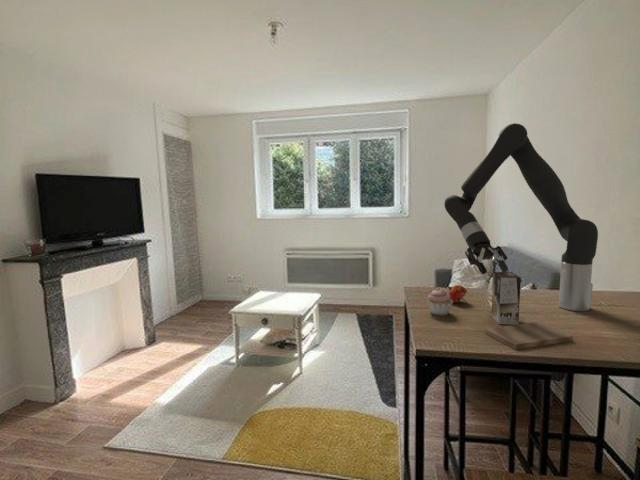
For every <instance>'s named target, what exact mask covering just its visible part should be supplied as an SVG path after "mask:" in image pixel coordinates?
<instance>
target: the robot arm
mask: <svg viewBox="0 0 640 480" xmlns="http://www.w3.org/2000/svg"><path fill="white" fill-rule="evenodd" d="M509 157H511V158H512V159H513V160H514V162H515V163H516V164H517V166H518V168H519V170H520V172H521V175H522V177H523V178H524V180H525V182H526V184H527V186H528V187H529V189H530V190H531V192H532V193H533V195H534V196H535V197H536V199H537V200H538V201H539V203H540V204H541V205H542V207H543V208H544V210H545V211H546V212H547V213H548V215H549V216H550V217H551V220H552V221H553V223H554V225H555V226H556V228H557V231H558V233H559V235H560V237H561V238H562V239H563V240H565V242H566V250H565V252H564V253H562V255H561V263H560V264H561V265H560V276H559V277H560V279H559V294H558V295H559V296H558V307H560V308H562V309H564V310H568V311H574V312H587V311H589V310H590V309H592V301H593V300H592V299H593V298H592V297H593V285H594V284H593V282H592V276H593V275H592V273H593V262H594V261H593V260H594V258H595V257H596V255H597V248H598V247H597V246H598V241H599V239H598V238H599V231H598V227H597V225H596V224H595V223H594V222H593V221H591V220H588V219H585V218H580V216H579V215H578V214H577V213H576V211H575V210H574V209H573V207H572V206H571V204H570V203H569V200H568V197H567V192H566V189H565V186H564V184H563V181H561V179H560V177H559V176H558V175H557V172H555V170H554V169H553V167H552V166H550V164H548V162H547V160H545V159H544V158H543V157H542V156H541V155H540V154H539V153H538V152H537V150H536V149H535V148H534V146H533V144H532V142H531V140H530V138H529V137H528V130H527V128H526V127H525V126H524V125H522V124H520V123H509V124H507V125H505V126H504V127H503V128H502V129H501V130H500V132H499V134H498V137H497V139H496V141H495V142H494V144H493V146H492V147H491V149H490V150H489V152H488V154H487V155H486V156H485V157H484V159H483V160H482V161H480V163H479V164H478V165H477V166H476V167H475V168H474V170H472V172H471V173H470V174H469V175H468V177H467V178H466V180H465V181H464V182H463V183H462V185H461V186H460V187H461V190H462V192H463V193H462V195H461V196H459V195H457V194H456V195H455V194H451V195H449V196H447V197H446V199H444V208H445V211H446V213H448V215H449V216H450V217H451V218H452V220H453V221H454V222H455V223H456V224H457V226H458V229H459V230H460V232H461V234H462V237H463V239H464V241H465V243H466V245H467V246H468V248H467V249H466V250H465V251H464V253H465V256H466V258H467V261H468V263H469V264H470V265H471V266H473V265H474V266H475V267H477V269H478V271H479V272H480V273H481V274H482V275H485V274H487V272H488V270H487V268H486V266H485V265H484V264H485V263H483V262H482V261H485V260H490V261H491V262H495V263H497V264H498V267H499V268H500V270H501V272H508V270H509V267H508V266H507V264H506V260H508V256H507V254H506V253H505V252H504V251H503V249H502V247H501V246H500V245H497V246H496V247H493V246H492V245H491V240H490V239H489V237H488V234H487V233H486V231H485V230H484V228H483V227H482V226H481V224H480V223H479V221H478V220H477V218H476V216H475V215H474V214H473V213H472V212H470V210H471V209H472V208H473V205H474V203H475V201H476V198H477V197H478V194H479V193H480V192H481V191H482V190H483V189H484V187H485V186H486V185H487V184H488V183H489V181H490V180H491V179H492V177H493V176H494V175H495V173H496V172H497V171H498V170H499V168H500V167H501V166H502V165H503V164H504V162H505V161H506V160H508V158H509ZM493 256H494V257H493Z"/></svg>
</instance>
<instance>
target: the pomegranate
mask: <svg viewBox="0 0 640 480" xmlns="http://www.w3.org/2000/svg"><path fill="white" fill-rule="evenodd" d="M446 288H448V292H447V293H448V294H449V296H450V300H452V301H453V303H452V304H458V303H460V301H461V300H462V301H464V302H466V303H467V300H465V299H464V297H465V296H466V294H467V293H468V291H467V289H466V288H465V287H464V286H463V285H459V284H456V285H453V286H451V287H450V286H446Z"/></svg>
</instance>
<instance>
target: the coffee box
mask: <svg viewBox="0 0 640 480" xmlns="http://www.w3.org/2000/svg"><path fill="white" fill-rule="evenodd" d="M521 282H522V277H521V276H519V275H517V274H515V273H513V272H512V271H506V272H502V271H493V272H492V289H491V291H492V292H491V293H492V296H491V317H492V318H494V320H495V321H496V322H497V324H499V325H508V326H512V325H519V323H520V303H521V302H520V301H521V284H522V283H521Z"/></svg>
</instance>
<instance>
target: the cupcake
mask: <svg viewBox="0 0 640 480" xmlns="http://www.w3.org/2000/svg"><path fill="white" fill-rule="evenodd" d="M426 302H427V304H428V306H429V312H430V313H431V314H432V315H434V316H440V317H441V316H442V317H444V316H447V315H449V313H450V310H451V307H452V305H453V304H454V303H453V301H452V300H450V296H449V294H448V292H447V291H446V289H445V288H443V287H441V286H438V287H437V289H434V290H432V291H431V293H429V294H428V297H427V298H426Z"/></svg>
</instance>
